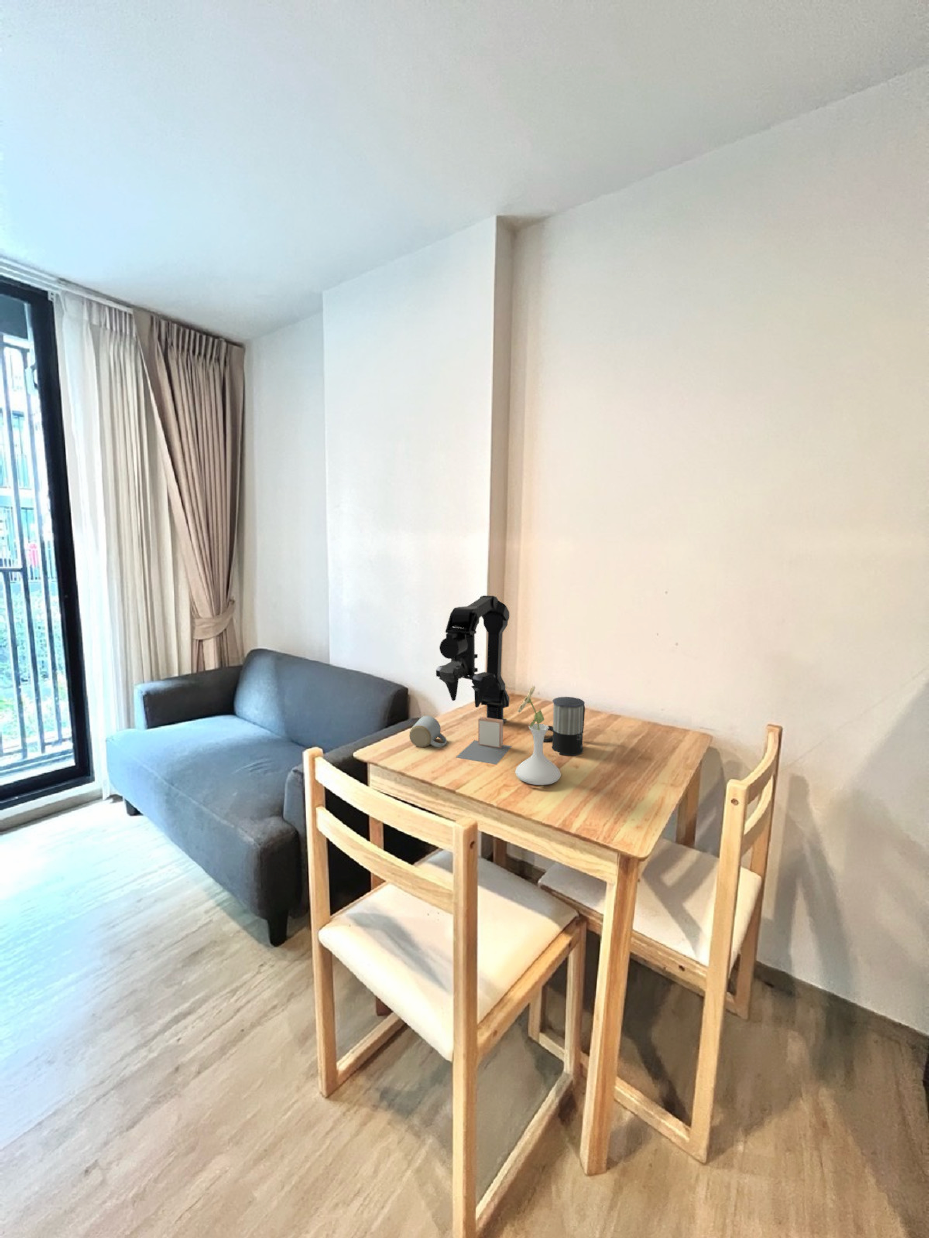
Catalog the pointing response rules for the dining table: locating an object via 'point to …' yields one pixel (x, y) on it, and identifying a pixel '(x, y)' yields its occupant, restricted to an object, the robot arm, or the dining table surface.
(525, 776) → the flower in vase
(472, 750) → the mat
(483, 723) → the picture frame
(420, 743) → the ceramic mug
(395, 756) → the dining table surface
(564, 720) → the milk frother
